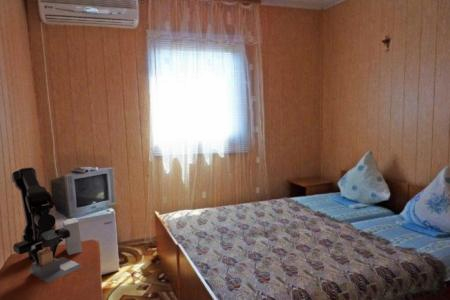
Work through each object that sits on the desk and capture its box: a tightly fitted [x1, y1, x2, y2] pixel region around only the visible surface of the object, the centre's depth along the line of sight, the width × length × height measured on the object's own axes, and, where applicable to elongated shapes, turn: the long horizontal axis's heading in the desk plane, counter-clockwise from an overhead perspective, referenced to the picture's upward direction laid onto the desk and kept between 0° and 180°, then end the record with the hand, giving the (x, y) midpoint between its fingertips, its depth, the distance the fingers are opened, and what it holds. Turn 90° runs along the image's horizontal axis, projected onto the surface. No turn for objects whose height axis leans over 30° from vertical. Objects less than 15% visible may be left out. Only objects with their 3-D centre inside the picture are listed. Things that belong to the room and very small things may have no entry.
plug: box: [37, 247, 53, 266], centre depth 121 cm, size 4×4×9 cm
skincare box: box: [62, 217, 83, 256], centre depth 138 cm, size 8×6×15 cm
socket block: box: [27, 256, 84, 284], centre depth 123 cm, size 16×14×5 cm
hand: (45, 260), depth 121 cm, fingers open, 5 cm apart
